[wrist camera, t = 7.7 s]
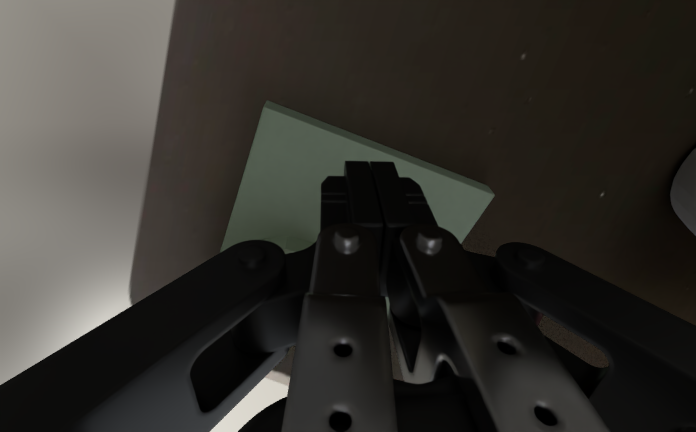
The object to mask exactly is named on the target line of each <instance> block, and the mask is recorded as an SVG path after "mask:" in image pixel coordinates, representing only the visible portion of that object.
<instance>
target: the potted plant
mask: <svg viewBox="0 0 696 432" xmlns="http://www.w3.org/2000/svg"><path fill="white" fill-rule="evenodd" d="M670 197H671V205H672V207H673V209H674V211H675V213H676V214H677V216H678V217H679V218H680V219H681V220H682V222H683V223H684V224H685V225H686V226H687V227H688V229H689V230H690V231H691V232H692V233H693V234H694V235H695V236H696V148H695V149H693V151H692V152H691V153H690V154H689V156H688V157H687V158H686V160H685V161H684V162H683V164H682V165H681V167H680V168H679V170H678V172H677V174H676V176H675V178H674V180H673V184H672V188H671V192H670Z"/></svg>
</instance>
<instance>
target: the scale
mask: <svg viewBox="0 0 696 432" xmlns="http://www.w3.org/2000/svg"><path fill="white" fill-rule="evenodd" d="M345 161H369V162H370V161H387V162H394V164H395V167H396V169H397V172H398V175H399V177H410V178H411V179H413V180H414V181H415V182H416V183H418V184H419V185H420V186H421V189H422V191H423V193H424V196H425V197H426V200H427V202H428V204H429V206H430V209H431V211H432V213H433V215H434V217H435V220H436V222H437V224H438V226H439V227H442V228H444V229H446V230H448V231H450V232H451V233H452V234H454V235H455V236H456V238H457V239H458V241H459V242H460V244H461V243H462V241H463V240H464V239H465V237H466V236H467V234H468V233H469V231H470V230H471V229H472V227H473V226H474V224H475V223H476V222H477V220H478V219H479V217H480V216H481V214H482V213H483V212H484V210H485V209H486V207H487V206H488V204H489V203H490V202H491V200H492V199H493V197H494V196H495V195H494V193H493V192H492V191H491V189H490V188H489V187H488V186H487V185H485V184H482V183H479V182H477V181H474V180H472V179H469V178H466V177H464V176H461V175H459V174H456V173H454V172H451V171H448V170H446V169H443V168H441V167H438V166H436V165H433V164H430V163H428V162H425V161H423V160H420V159H418V158H415V157H412V156H410V155H407V154H405V153H402V152H399V151H397V150H394V149H392V148H389V147H387V146H384V145H381V144H379V143H376V142H374V141H371V140H369V139H366V138H363V137H361V136H358V135H356V134H353V133H351V132H348V131H345V130H343V129H340V128H338V127H335V126H333V125H330V124H327V123H325V122H322V121H320V120H317V119H314V118H312V117H309V116H307V115H304V114H302V113H299V112H296V111H294V110H291V109H289V108H286V107H284V106H281V105H278V104H276V103H273V102H271V101H268V100H267V101H266V103H265V105H264V107H263V110H262V113H261V117H260V120H259V123H258V127H257V130H256V133H255V137H254V140H253V143H252V147H251V150H250V154H249V157H248V160H247V164H246V167H245V170H244V174H243V177H242V180H241V184H240V187H239V190H238V194H237V197H236V200H235V204H234V207H233V210H232V214H231V217H230V220H229V224H228V227H227V231H226V234H225V237H224V241H223V244H222V247H221V251H220V253H221V252H222V251H224V250H226V249H227V248H229V247H231V246H233V245H235V244H237V243H240V242H243V241H248V240H266V241H270V242H273V243H275V244H277V245H278V246H280V247H281V248H282V249H283V251H284V253H285V254H288V253H293V252H297V251H300V250H303V249H306V248H307V247H309V246H311V245H312V244H314V243H315V242H316V241H317V237H318V234H319V233H320V218H321V183H322V182H323V181H324V180H325V179H326V178H327V176H344V164H345ZM385 298H386V304H387V315H388V312H389V305H390V303H389V298H388V297H385ZM388 325H389V324H388Z"/></svg>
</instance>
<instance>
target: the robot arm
mask: <svg viewBox="0 0 696 432" xmlns="http://www.w3.org/2000/svg"><path fill="white" fill-rule="evenodd" d="M385 297H388V298H389V303H390V305H389V312H388V315H387V304H386V298H385ZM543 315H545V316H547V317H548V318H550V319H552V320H553V321H555V322H556V323H558V324H560V325H561V326H563V327H565V328H566V329H568V330H570V331H571V332H573V333H575V334H576V335H578V336H579V337H581V338H583V339H584V340H586V341H588V342H589V343H591V344H593V345H594V346H596V347H597V348H599V349H600V350H601V351H602V352H603V353H604V354H605V356H606V357H607V359H608V362H609V366H608V367H605V368H598V367H594V366H592V365H590V364H588V363H586V362H585V361H583V360H582V359H580V358H579V357H577V356H575V355H574V354H572V353H571V352H569V351H568V350H566V349H565V348H563V347H562V346H560V345H558V344H557V343H555V342H554V341H552V340H551V339H549V338H548V337H546V336H544V335H543V334H542V332H541V331H540V329H539V328H538V325H539V323H540V321H541V319H542V316H543ZM388 324H389V326H388ZM389 328H390V331H391V335H392V338H393V342H394V345H395V349H396V353H397V356H398V360H399V363H400V367H401V371H402V374H403V378H404V381H400V380H395V379H393V372H392V361H391V349H390V338H389ZM294 345H296V347H295V353H294V359H293V365H292V371H291V377H290V383H289V389H288V395H287V397H285V398H282V399H280V400H279V401H277V402H275V403H273V404H271V405H270V406H268V407H266V408H265V409H264V410H262V411H261V412H259V413H258V414H256V415H255V416H254V417H253V418H252V419H251V420H249V421H248V422H247V423H246V424H245V425H244V426H243V427H242V428H241V429H240V430H239V431H238V432H696V326H695V325H693V324H691V323H689V322H687V321H685V320H683V319H681V318H679V317H677V316H675V315H673V314H671V313H669V312H667V311H665V310H663V309H661V308H659V307H657V306H655V305H653V304H651V303H649V302H647V301H645V300H643V299H641V298H639V297H637V296H635V295H633V294H631V293H629V292H627V291H625V290H623V289H621V288H619V287H617V286H615V285H613V284H611V283H609V282H607V281H605V280H603V279H601V278H599V277H597V276H595V275H593V274H591V273H589V272H587V271H585V270H583V269H581V268H579V267H577V266H575V265H573V264H571V263H569V262H567V261H565V260H563V259H561V258H559V257H557V256H555V255H553V254H551V253H549V252H547V251H545V250H543V249H541V248H539V247H536V246H534V245H530V244H526V243H519V242H511V243H506V244H503V245H501V246H500V247H499V248H498V249H497V252H496V255H495V257H492V256H487V255H482V254H477V253H473V252H469V251H466V250H464V249H463V247H462V245H461V244H460V242H459V241H458V239H457V238H456V236H455V235H454V234H452V233H451V232H450V231H448V230H446V229H444V228H442V227H439V226H438V224H437V222H436V220H435V217H434V215H433V213H432V211H431V209H430V206H429V204H428V202H427V200H426V197H425V196H424V193H423V191H422V189H421V186H420V185H419V184H418V183H416V182H415V181H414V180H413V179H411V178H410V177H399V175H398V172H397V169H396V167H395V164H394V162H387V161H370V162H369V161H345V164H344V176H327V178H326V179H325V180H324V181H323V182H322V183H321V218H320V233H319V234H318V237H317V241H316V242H315V243H314V244H312V245H311V246H309V247H307V248H306V249H303V250H300V251H297V252H293V253H288V254H285V253H284V251H283V249H282V248H281V247H280V246H278V245H277V244H275V243H273V242H270V241H266V240H248V241H243V242H240V243H237V244H235V245H233V246H231V247H229V248H227V249H226V250H224V251H222V252H221V253H219V254H217V255H216V256H214V257H212V258H211V259H209V260H208V261H206V262H204V263H203V264H201V265H199V266H198V267H196V268H194V269H193V270H191V271H189V272H188V273H186V274H184V275H183V276H181V277H179V278H178V279H176V280H174V281H173V282H171V283H169V284H168V285H166V286H164V287H163V288H161V289H159V290H158V291H156V292H154V293H153V294H151V295H149V296H148V297H146V298H144V299H143V300H141V301H139V302H138V303H136V304H134V305H133V306H131V307H129V308H128V309H126V310H125V311H123V312H121V313H120V314H118V315H116V316H115V317H113V318H111V319H110V320H108V321H106V322H105V323H103V324H101V325H100V326H98V327H96V328H95V329H93V330H91V331H90V332H88V333H86V334H85V335H83V336H81V337H80V338H78V339H76V340H75V341H73V342H71V343H70V344H68V345H67V346H65V347H63V348H61V349H60V350H58V351H57V352H55V353H53V354H52V355H50V356H48V357H46V358H45V359H43V360H42V361H40V362H38V363H37V364H35V365H33V366H32V367H30V368H28V369H27V370H25V371H23V372H22V373H20V374H18V375H17V376H15V377H13V378H12V379H10V380H8V381H7V382H5V383H4V384H2V385H0V432H210V431H211V429H213V428H214V427H215V426H216V425H217V424H218V423H219V422H220V421H221V420H222V419H223V418H224V416H226V415H227V414H228V413H229V412H230V411H231V410H232V409H233V408H234V407H235V406H236V405H237V404H238V403H239V402H240V401H241V400H242V399H243V398H244V397H245V396H246V395H247V394H248V393H249V392H250V391H251V390H252V389H253V388H254V387H255V386H256V385H257V384H258V383H259V382H260V381H261V380H262V379H263V378H264V377H265V376H266V375H267V374H268V373H269V372H270V371H271V370H272V369H273V368H274V367H275V366H276V365H277V364H278V363H279V362H280V361H281V360H282V359H283V358H284V357H285V356H286V354H287V353H288V350H289V348H290V347H291V346H294Z"/></svg>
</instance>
